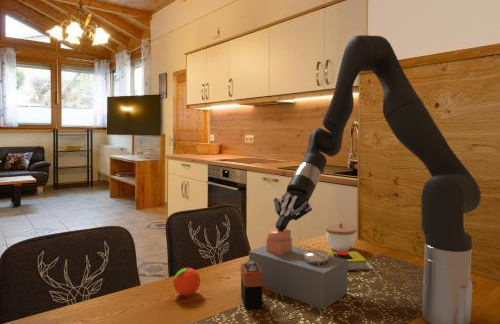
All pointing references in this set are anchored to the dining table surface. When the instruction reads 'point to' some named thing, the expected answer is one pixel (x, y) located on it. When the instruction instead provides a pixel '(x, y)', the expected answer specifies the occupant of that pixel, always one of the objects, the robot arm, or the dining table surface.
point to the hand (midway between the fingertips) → (279, 229)
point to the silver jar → (315, 257)
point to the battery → (251, 285)
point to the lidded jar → (340, 236)
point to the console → (302, 276)
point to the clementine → (186, 281)
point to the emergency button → (352, 259)
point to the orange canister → (279, 241)
